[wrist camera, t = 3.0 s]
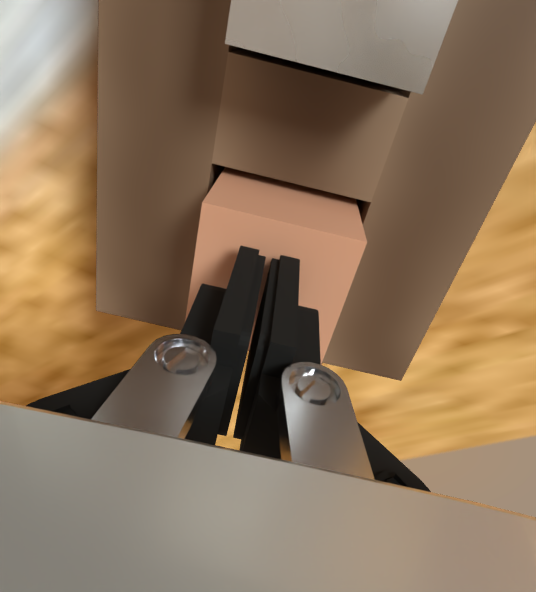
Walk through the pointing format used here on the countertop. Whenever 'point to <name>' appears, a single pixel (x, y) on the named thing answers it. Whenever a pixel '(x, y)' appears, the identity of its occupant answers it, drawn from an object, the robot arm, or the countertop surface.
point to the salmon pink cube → (281, 239)
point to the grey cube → (347, 35)
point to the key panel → (304, 158)
